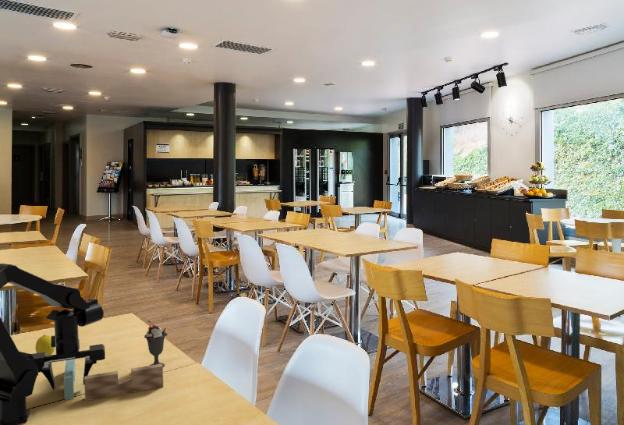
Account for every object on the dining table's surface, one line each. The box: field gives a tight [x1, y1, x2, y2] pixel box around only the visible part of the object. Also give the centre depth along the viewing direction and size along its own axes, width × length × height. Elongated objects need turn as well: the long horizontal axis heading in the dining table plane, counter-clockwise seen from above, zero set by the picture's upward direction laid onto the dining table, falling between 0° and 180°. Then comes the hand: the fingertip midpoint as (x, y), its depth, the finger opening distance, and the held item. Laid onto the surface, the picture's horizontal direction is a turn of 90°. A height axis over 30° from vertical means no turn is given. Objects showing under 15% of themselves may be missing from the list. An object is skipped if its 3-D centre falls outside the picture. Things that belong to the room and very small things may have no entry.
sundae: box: [143, 320, 168, 368], centre depth 149 cm, size 7×7×15 cm
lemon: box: [35, 334, 56, 356], centre depth 156 cm, size 6×6×8 cm
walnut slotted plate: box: [83, 364, 164, 402], centre depth 133 cm, size 20×2×6 cm, turn 114°
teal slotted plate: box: [63, 359, 76, 401], centre depth 138 cm, size 20×2×6 cm, turn 25°
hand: (69, 386), depth 133 cm, fingers open, 7 cm apart
